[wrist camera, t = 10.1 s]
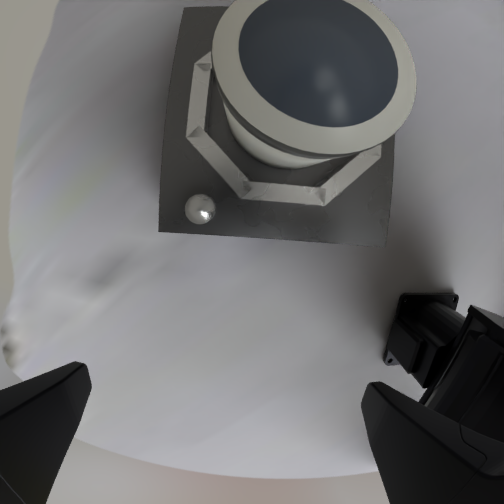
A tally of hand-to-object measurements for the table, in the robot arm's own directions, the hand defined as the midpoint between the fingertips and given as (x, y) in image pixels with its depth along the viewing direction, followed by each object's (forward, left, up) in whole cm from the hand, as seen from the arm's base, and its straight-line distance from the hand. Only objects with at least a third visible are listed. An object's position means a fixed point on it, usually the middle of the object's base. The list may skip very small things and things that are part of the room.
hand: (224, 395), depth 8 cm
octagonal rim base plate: (-2, -10, -12) cm, 16 cm away
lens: (-2, -10, -8) cm, 13 cm away
